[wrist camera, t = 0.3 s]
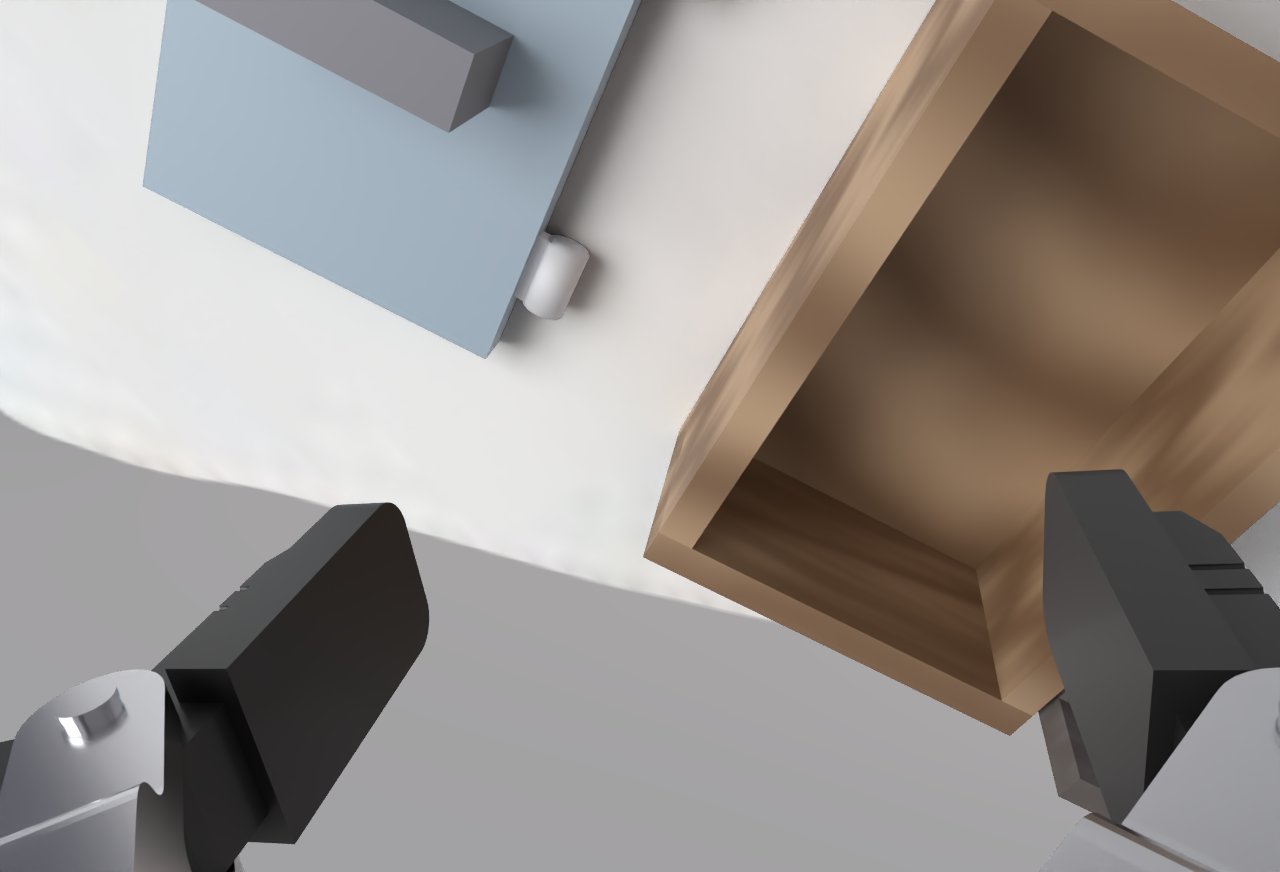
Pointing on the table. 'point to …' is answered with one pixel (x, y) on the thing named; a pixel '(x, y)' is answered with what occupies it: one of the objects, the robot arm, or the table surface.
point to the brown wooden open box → (998, 346)
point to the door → (390, 142)
